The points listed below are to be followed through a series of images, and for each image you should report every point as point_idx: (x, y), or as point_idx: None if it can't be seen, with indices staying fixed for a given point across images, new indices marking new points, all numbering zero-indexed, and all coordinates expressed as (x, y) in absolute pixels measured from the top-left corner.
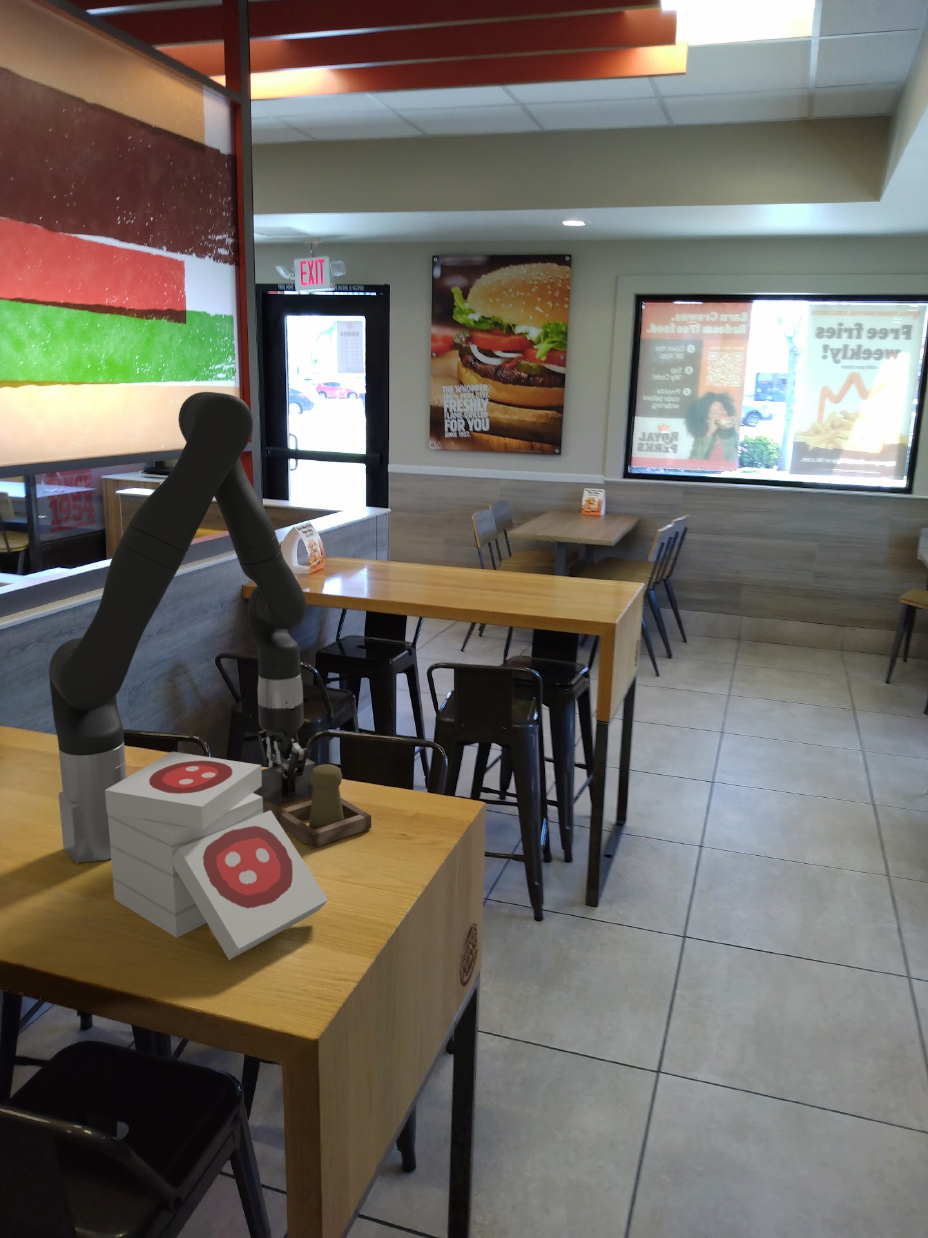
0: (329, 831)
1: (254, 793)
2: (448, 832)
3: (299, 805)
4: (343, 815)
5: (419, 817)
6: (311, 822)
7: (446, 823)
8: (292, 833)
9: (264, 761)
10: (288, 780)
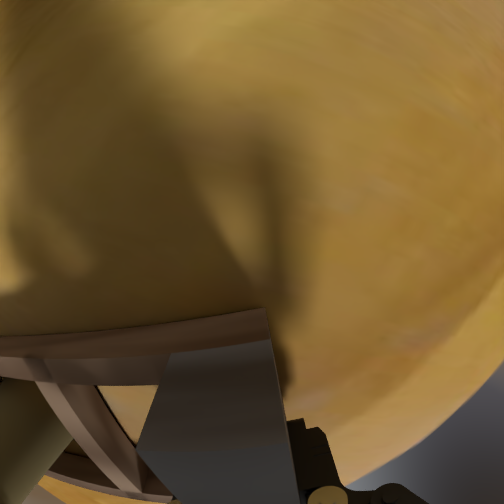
0: None
1: (218, 358)
2: (44, 485)
3: (79, 430)
4: (88, 460)
5: (87, 499)
6: (4, 392)
7: (68, 499)
8: (6, 337)
9: (390, 496)
10: (173, 499)
